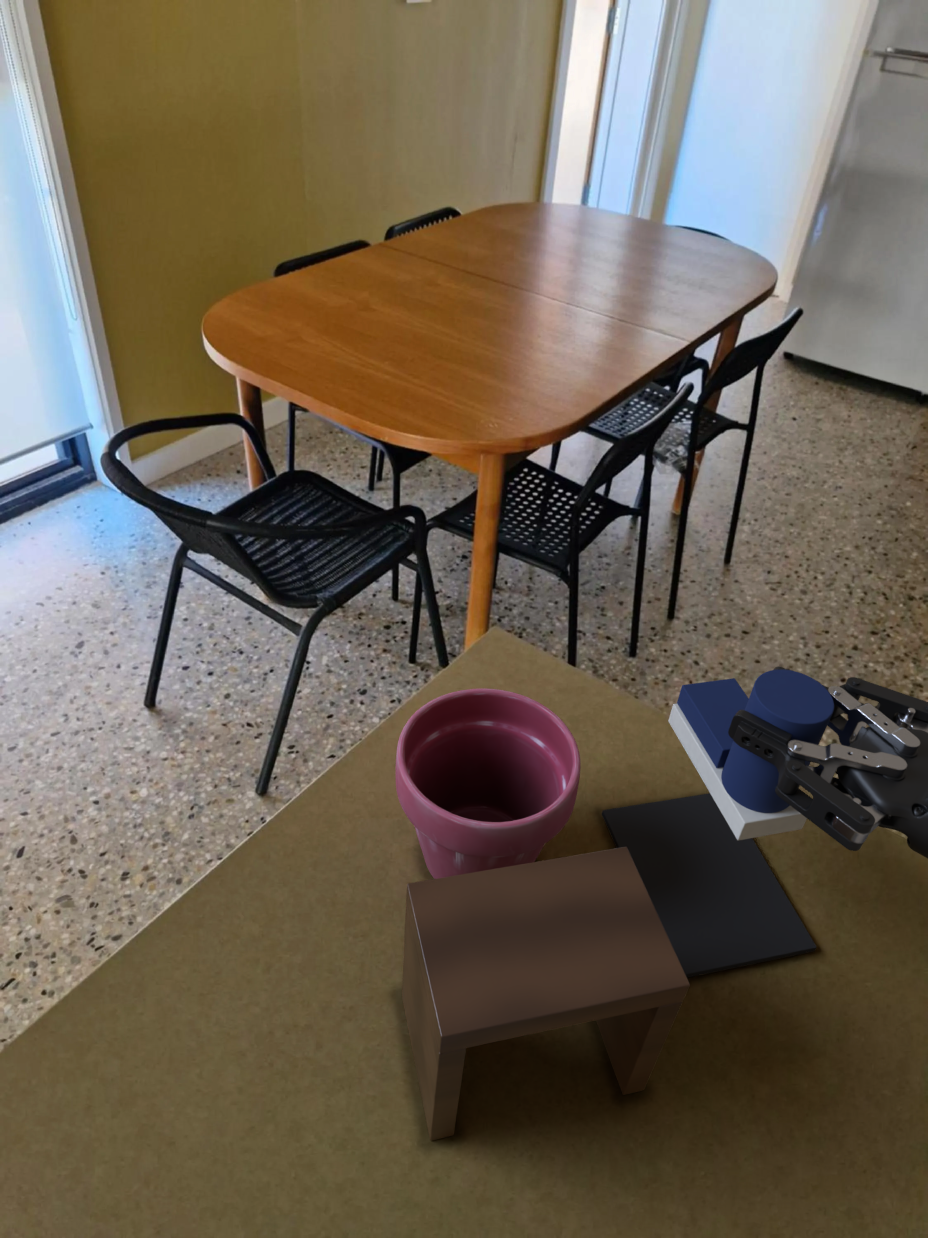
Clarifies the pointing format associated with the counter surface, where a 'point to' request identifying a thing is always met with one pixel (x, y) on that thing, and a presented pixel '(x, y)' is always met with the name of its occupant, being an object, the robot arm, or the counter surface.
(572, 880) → the shoe bench
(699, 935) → the shoe mat
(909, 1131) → the counter surface
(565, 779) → the flower pot
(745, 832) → the boot
